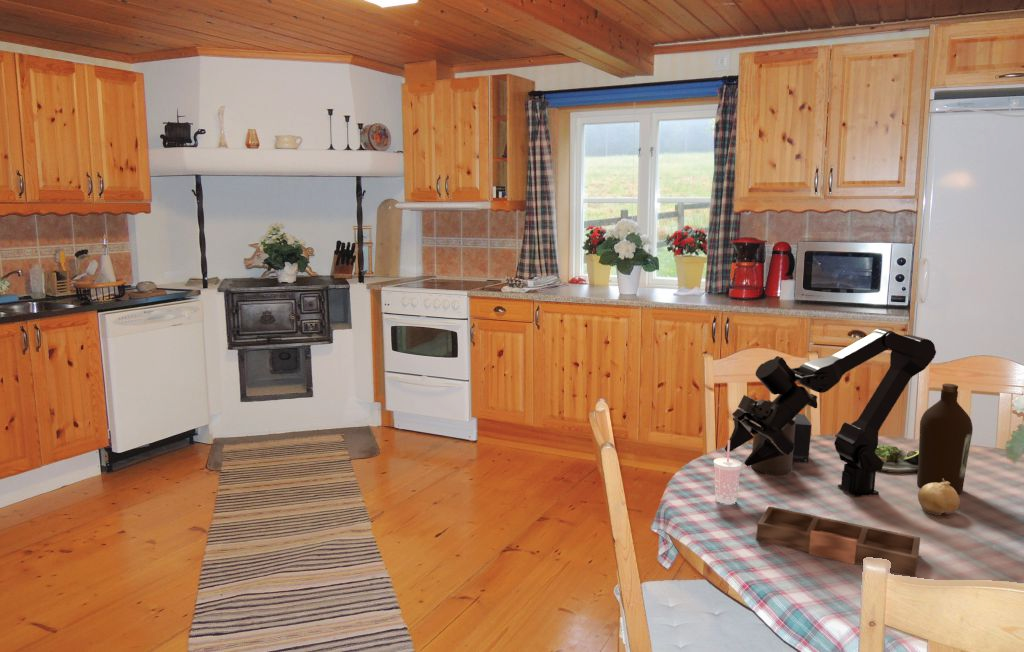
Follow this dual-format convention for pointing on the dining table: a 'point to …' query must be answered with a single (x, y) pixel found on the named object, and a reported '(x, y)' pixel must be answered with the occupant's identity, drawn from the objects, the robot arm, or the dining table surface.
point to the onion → (938, 498)
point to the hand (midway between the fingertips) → (735, 457)
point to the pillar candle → (778, 463)
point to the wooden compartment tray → (838, 539)
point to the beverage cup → (726, 478)
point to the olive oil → (944, 441)
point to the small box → (801, 439)
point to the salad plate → (898, 459)
